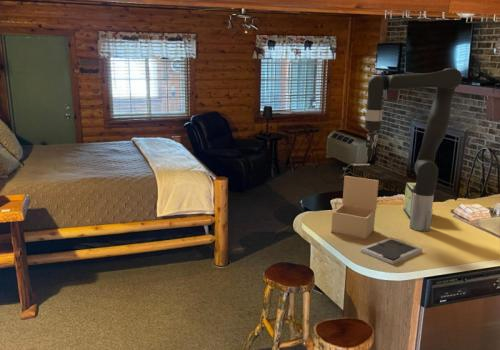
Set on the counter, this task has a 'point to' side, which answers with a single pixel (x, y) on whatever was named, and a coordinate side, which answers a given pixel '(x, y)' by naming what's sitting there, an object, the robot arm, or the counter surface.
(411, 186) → the protein box
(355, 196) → the lid flap
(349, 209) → the carton
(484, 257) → the counter surface
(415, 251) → the picture frame
